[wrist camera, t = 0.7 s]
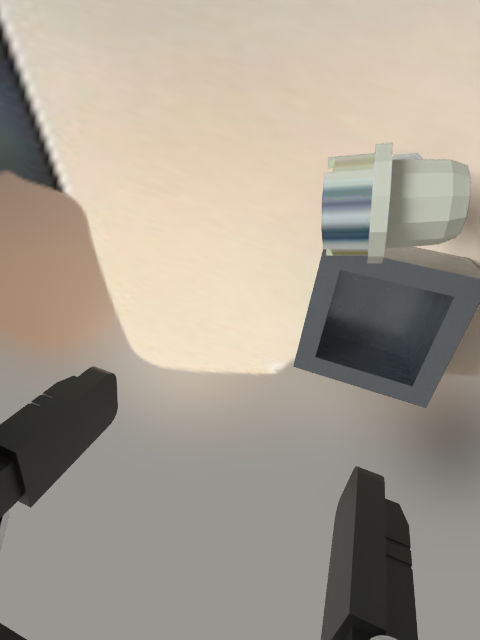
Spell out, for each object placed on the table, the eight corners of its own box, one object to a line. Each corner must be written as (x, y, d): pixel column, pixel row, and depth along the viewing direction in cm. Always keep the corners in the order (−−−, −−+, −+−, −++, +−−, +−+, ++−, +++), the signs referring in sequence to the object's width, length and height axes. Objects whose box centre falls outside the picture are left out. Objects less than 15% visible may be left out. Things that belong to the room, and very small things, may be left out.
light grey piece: (421, 204, 35) (494, 280, 13) (351, 207, 37) (319, 275, 16) (428, 146, 33) (528, 126, 11) (354, 153, 35) (321, 147, 14)
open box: (332, 230, 39) (324, 244, 32) (469, 258, 35) (490, 281, 29) (305, 336, 45) (293, 366, 39) (418, 369, 42) (425, 408, 35)
